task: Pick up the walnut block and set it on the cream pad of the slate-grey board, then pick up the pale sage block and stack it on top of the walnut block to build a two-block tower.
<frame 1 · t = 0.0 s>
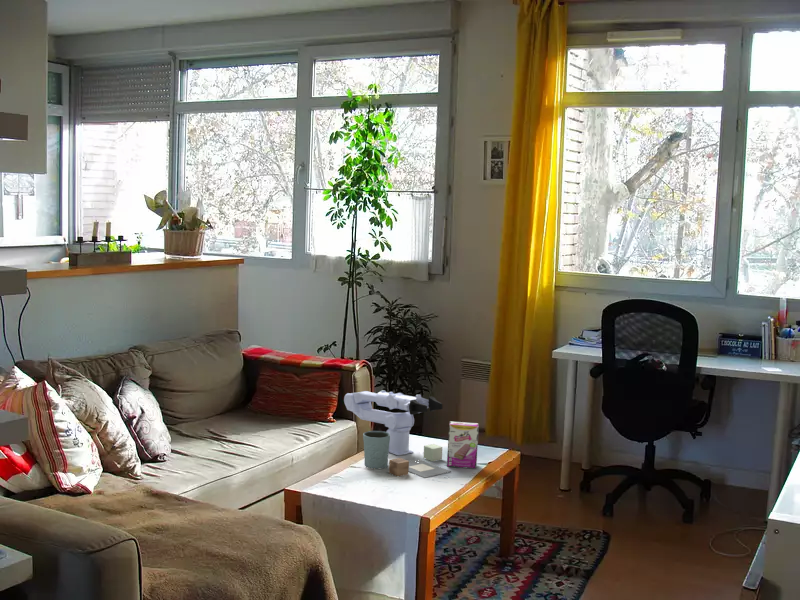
hand: (434, 407, 319), 22 cm above the table, tool horizontal, fingers open, 7 cm apart
green plant pot: (375, 465, 317), on the table
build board: (421, 468, 315), on the table
sage block: (432, 459, 328), on the table
walnut block: (398, 474, 308), on the table
candy bar box: (461, 466, 320), on the table
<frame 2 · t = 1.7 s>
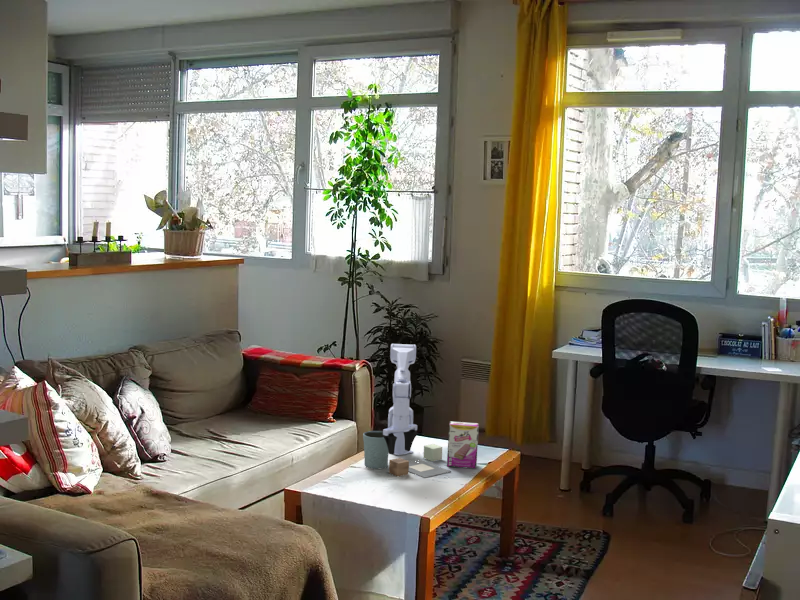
hand: (399, 452, 307), 8 cm above the table, tool pointing down, fingers open, 7 cm apart
nothing on the table moved.
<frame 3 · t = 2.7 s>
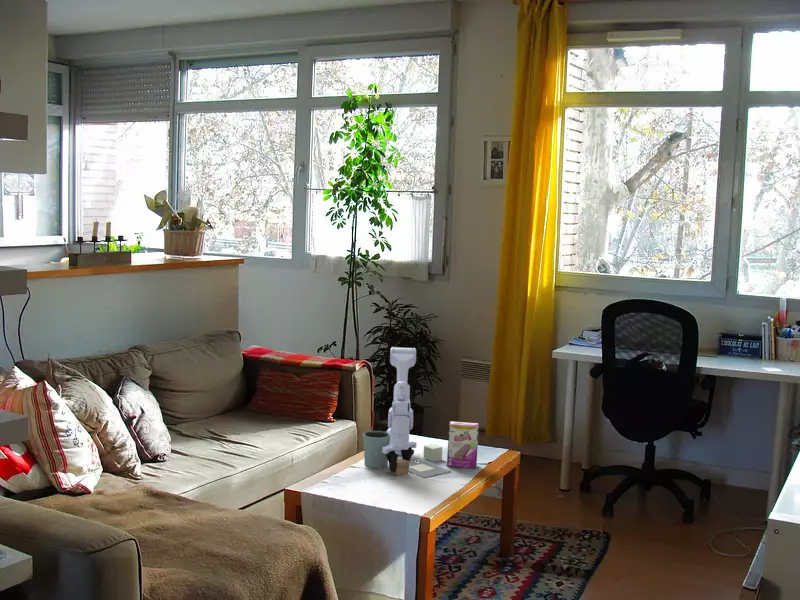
hand: (398, 469, 308), 1 cm above the table, tool pointing down, fingers closed on walnut block, 5 cm apart
walnut block: (398, 473, 308), on the table, touching gripper
everything else where it was.
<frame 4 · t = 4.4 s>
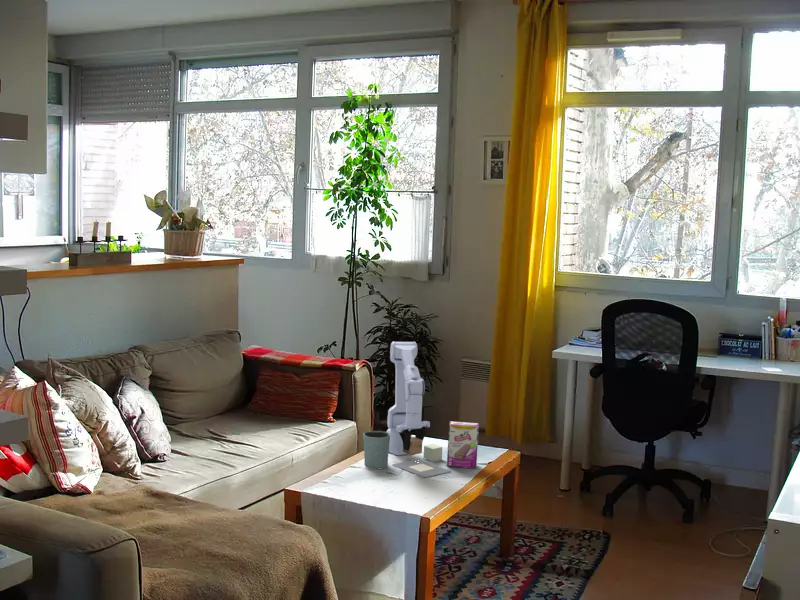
hand: (412, 448, 311), 8 cm above the table, tool pointing down, fingers closed on walnut block, 5 cm apart
walnut block: (412, 452, 312), point 7 cm above the table, touching gripper
everything else where it was.
when the fingers open (3 cm above the table, at t = 6.2 s): walnut block drops 1 cm, resting on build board.
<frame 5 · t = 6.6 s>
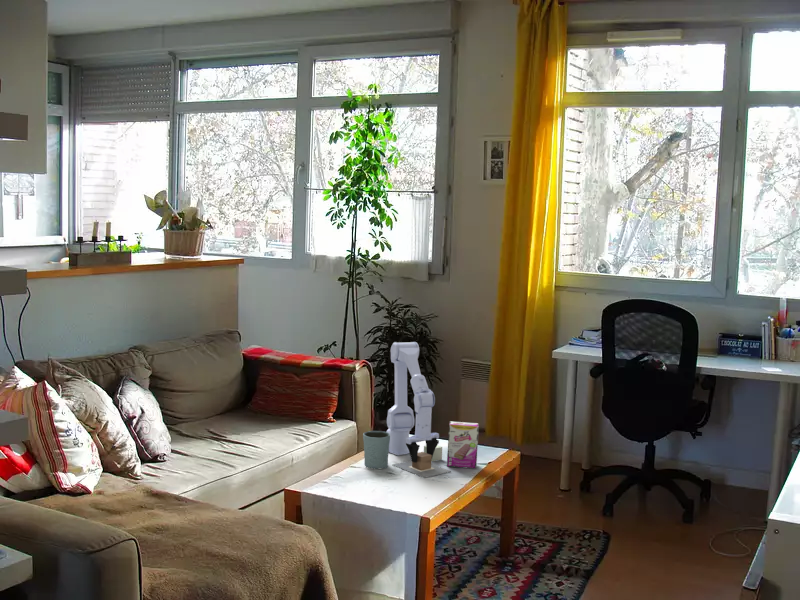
hand: (421, 460, 315), 3 cm above the table, tool pointing down, fingers open, 7 cm apart
walnut block: (421, 467, 315), resting on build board
everything else where it was.
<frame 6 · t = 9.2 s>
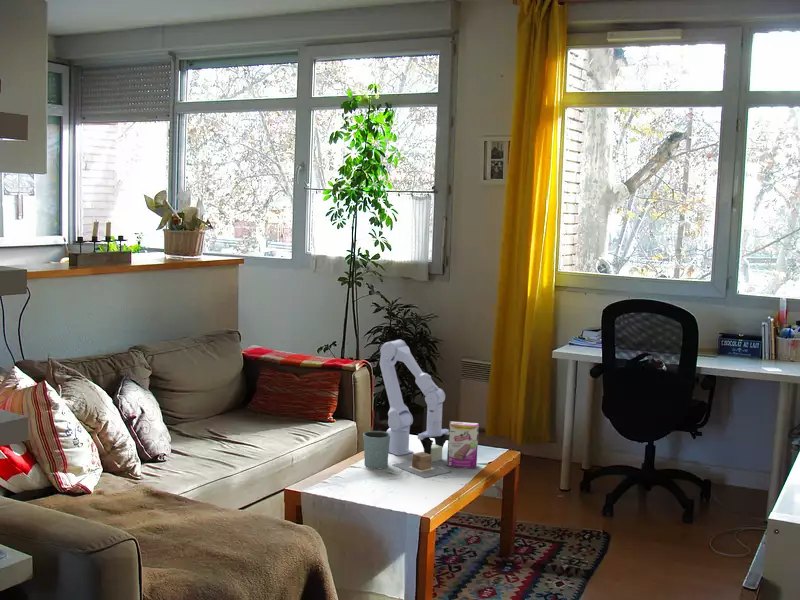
hand: (432, 455, 328), 1 cm above the table, tool pointing down, fingers closed on sage block, 5 cm apart
sage block: (432, 458, 328), on the table, touching gripper
everything else where it was.
when the fingers open (8 cm above the table, at t = 12.7 s): sage block drops 1 cm, resting on walnut block.
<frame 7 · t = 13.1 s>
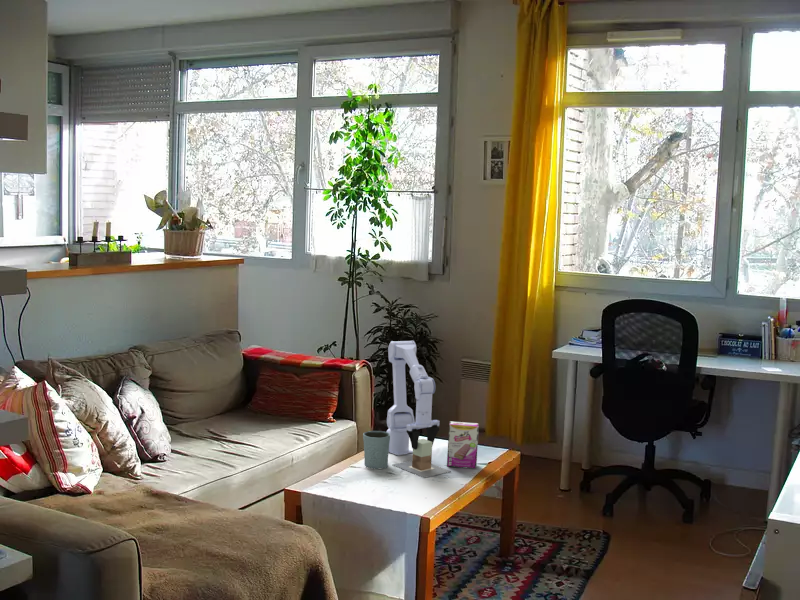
hand: (422, 447, 314), 8 cm above the table, tool pointing down, fingers open, 7 cm apart
sage block: (422, 454, 315), point 5 cm above the table, touching walnut block
walnut block: (421, 467, 315), resting on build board, touching sage block
everything else where it was.
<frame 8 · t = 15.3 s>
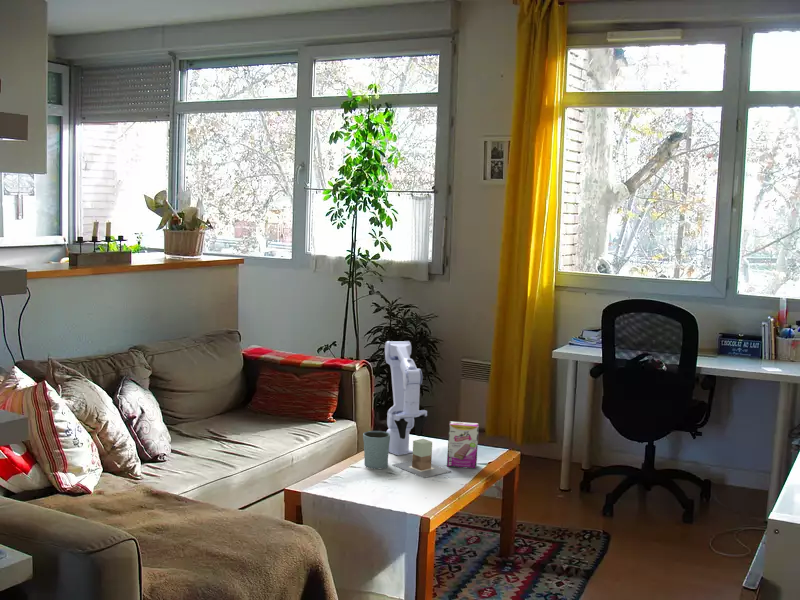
hand: (410, 436, 320), 10 cm above the table, tool pointing down, fingers open, 7 cm apart
nothing on the table moved.
at the end: walnut block 0.1 cm off-centre on the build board, point 0.4 cm above the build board's base; sage block 0.1 cm off-centre on the walnut block, point 5.0 cm above the walnut block's base; sage block tilted 0° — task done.
